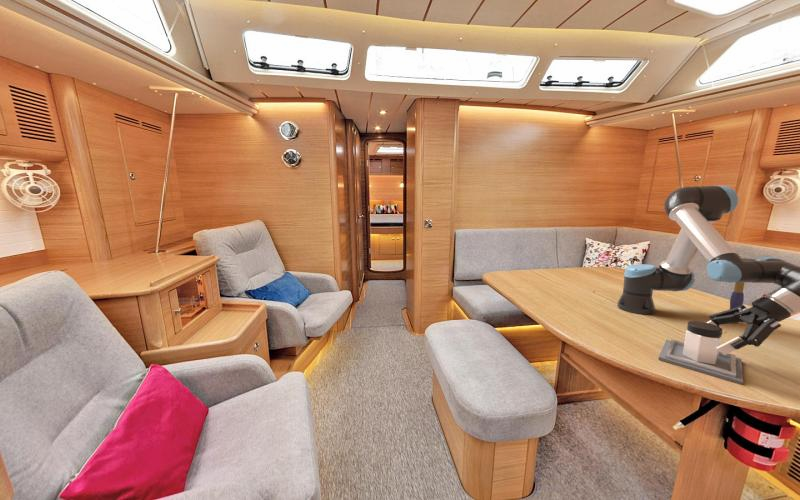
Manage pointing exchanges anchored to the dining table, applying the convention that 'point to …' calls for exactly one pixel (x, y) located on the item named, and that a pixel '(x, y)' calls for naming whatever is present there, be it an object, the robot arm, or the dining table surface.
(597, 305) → the dining table surface
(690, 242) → the robot arm
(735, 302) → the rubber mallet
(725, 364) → the board
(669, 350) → the tray
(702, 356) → the jar
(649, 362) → the dining table surface
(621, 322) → the dining table surface
